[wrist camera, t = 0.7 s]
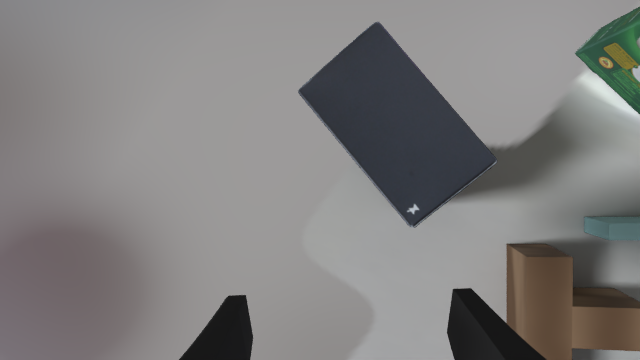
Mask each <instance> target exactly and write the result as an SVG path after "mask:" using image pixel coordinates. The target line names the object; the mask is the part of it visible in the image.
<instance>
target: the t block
mask: <svg viewBox="0 0 640 360" xmlns="http://www.w3.org/2000/svg"><path fill="white" fill-rule="evenodd" d="M507 324H508V325H509V326H510V327H511V328H512V329H513V330H514V331H515V332H516V333H517V334H518V335H519V336H520V337H521V338H523V339H524V340H525V341H526V342H527V343H528V344H529V345H530V346H531V347H533V348H534V349H535V350H536V351H537V352H538V353H540V354H541V355H542V356H543V357H544V358H545V359H547V360H572V348H580V349H603V350H625V351H640V302H638V301H637V300H635V299H633V298H631V297H629V296H627V295H625V294H624V293H622V292H620V291H618V290H616V289H614V288H573V257H571V256H569V255H567V254H565V253H563V252H561V251H559V250H557V249H555V248H553V247H551V246H549V245H547V244H507Z"/></svg>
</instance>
